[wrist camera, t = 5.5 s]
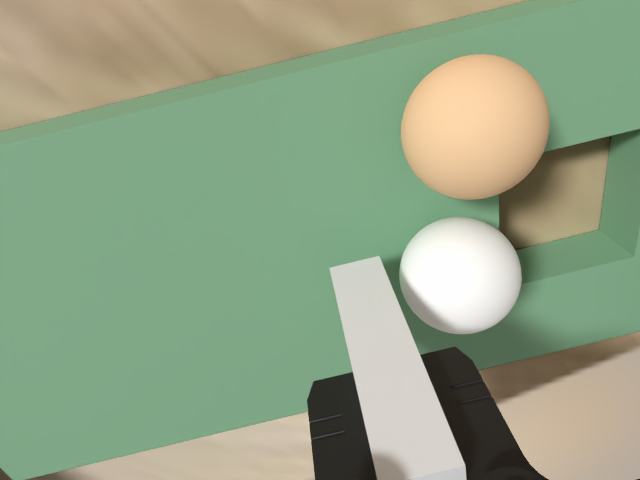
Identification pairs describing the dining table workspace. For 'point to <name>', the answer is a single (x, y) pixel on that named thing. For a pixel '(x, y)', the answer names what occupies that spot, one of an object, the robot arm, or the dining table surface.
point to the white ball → (460, 275)
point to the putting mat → (280, 233)
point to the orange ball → (475, 126)
